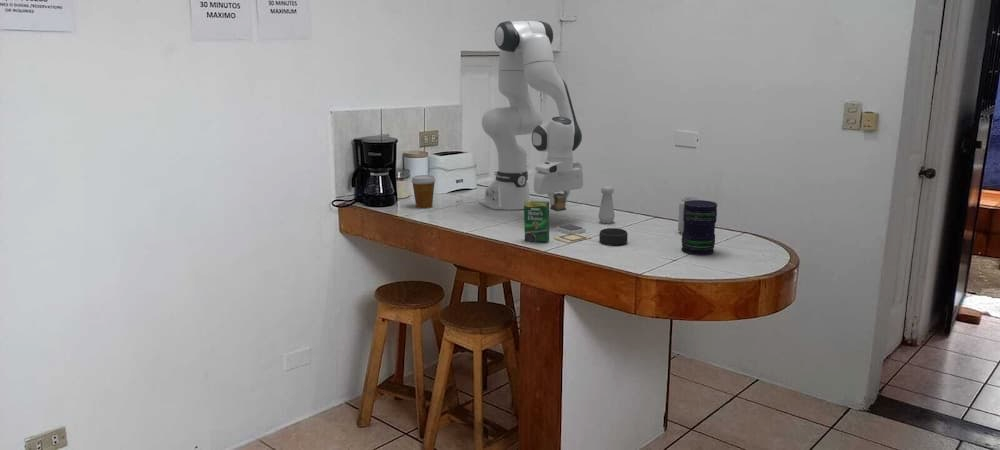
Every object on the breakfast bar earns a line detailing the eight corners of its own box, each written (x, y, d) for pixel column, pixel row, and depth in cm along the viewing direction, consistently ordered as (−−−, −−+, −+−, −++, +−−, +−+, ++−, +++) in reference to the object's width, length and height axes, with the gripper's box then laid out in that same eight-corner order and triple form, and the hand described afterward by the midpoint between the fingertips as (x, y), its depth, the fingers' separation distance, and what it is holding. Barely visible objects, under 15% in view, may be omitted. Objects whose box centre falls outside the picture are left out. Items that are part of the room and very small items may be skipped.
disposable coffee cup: (423, 203, 289) (422, 174, 286) (441, 206, 283) (440, 176, 280) (407, 207, 281) (406, 177, 278) (425, 210, 276) (424, 179, 273)
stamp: (550, 209, 251) (550, 194, 250) (558, 207, 254) (559, 192, 252) (557, 211, 248) (558, 196, 247) (566, 209, 250) (566, 194, 249)
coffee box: (523, 240, 231) (523, 201, 227) (526, 238, 233) (526, 199, 230) (546, 243, 227) (547, 203, 224) (549, 241, 230) (550, 201, 227)
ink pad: (556, 230, 244) (556, 226, 243) (570, 227, 247) (570, 223, 247) (571, 234, 238) (571, 230, 237) (585, 232, 241) (585, 227, 241)
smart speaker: (621, 247, 222) (622, 235, 222) (595, 244, 227) (595, 232, 226) (631, 241, 230) (631, 229, 229) (605, 238, 234) (605, 226, 233)
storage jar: (694, 257, 212) (697, 207, 208) (674, 248, 220) (676, 201, 217) (721, 253, 216) (724, 205, 212) (700, 245, 224) (703, 199, 221)
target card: (554, 238, 233) (554, 237, 233) (576, 234, 239) (576, 232, 239) (568, 243, 228) (568, 241, 227) (591, 238, 233) (591, 236, 233)
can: (685, 229, 245) (687, 195, 242) (704, 233, 240) (707, 198, 237) (673, 233, 240) (675, 198, 237) (693, 237, 235) (695, 201, 232)
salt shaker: (614, 224, 252) (615, 188, 249) (597, 223, 253) (598, 187, 250) (614, 220, 257) (616, 185, 254) (598, 220, 258) (599, 184, 255)
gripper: (576, 160, 255) (574, 198, 259) (531, 166, 243) (530, 205, 247) (588, 163, 250) (586, 201, 254) (543, 169, 238) (542, 209, 242)
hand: (558, 203), depth 250 cm, fingers closed on stamp, 4 cm apart
